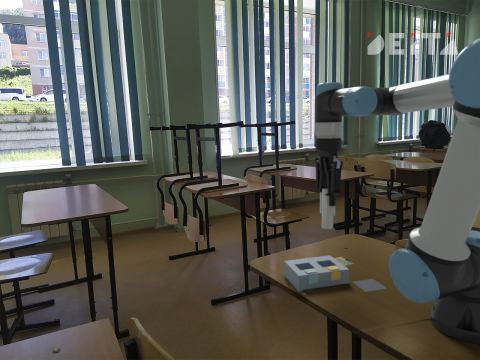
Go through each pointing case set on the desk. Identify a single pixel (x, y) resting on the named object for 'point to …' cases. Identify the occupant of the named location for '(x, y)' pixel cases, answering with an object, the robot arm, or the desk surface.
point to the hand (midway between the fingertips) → (327, 214)
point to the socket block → (315, 272)
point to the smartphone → (344, 261)
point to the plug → (326, 221)
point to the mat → (369, 285)
